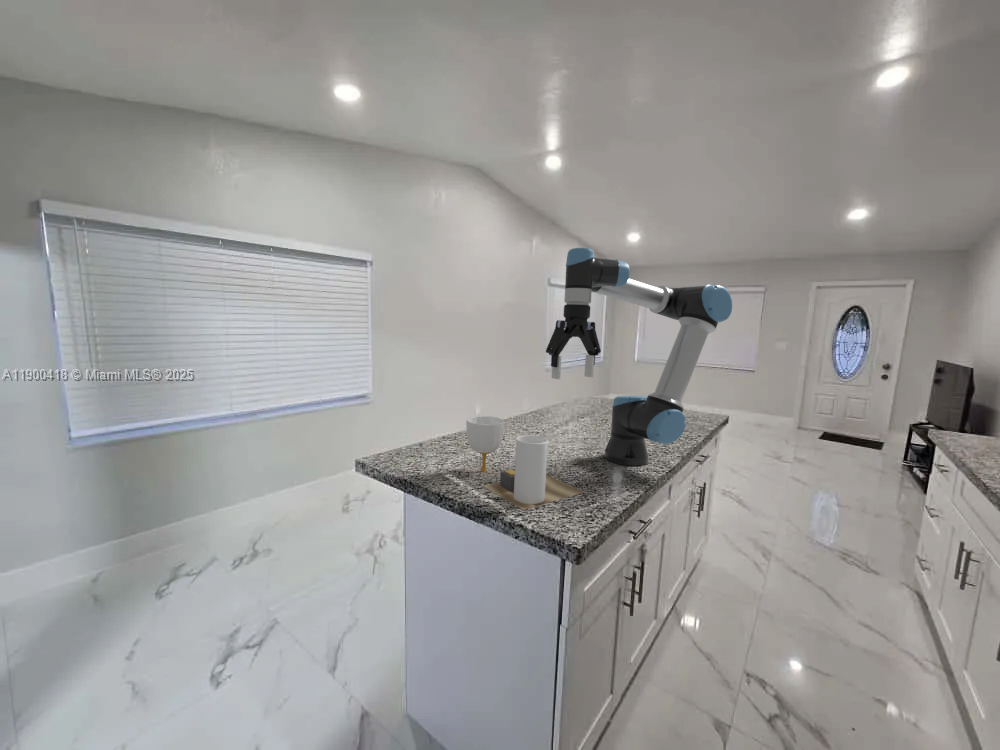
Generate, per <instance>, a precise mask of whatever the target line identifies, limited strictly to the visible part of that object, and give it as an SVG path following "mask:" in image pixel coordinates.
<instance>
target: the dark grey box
mask: <svg viewBox="0 0 1000 750" xmlns="http://www.w3.org/2000/svg"><path fill="white" fill-rule="evenodd" d="M514 480H515V468H512V469H506V470H502V471H500V481H499V482H500V485H501V486H502V487H504V488H506V489H508V490H509V491H514Z"/></svg>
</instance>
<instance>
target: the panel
mask: <svg viewBox="0 0 1000 750" xmlns="http://www.w3.org/2000/svg"><path fill="white" fill-rule="evenodd" d="M483 487H484V488H486V489H488V490H489V491H490V492H492V493H493V494H495V495H498V496H499V497H501V499H504V500H506V501H508V502H509V503H511V504H512V505H514V506H515V507H518V508H519V509H520V510H523V511H526V510H529V509H531V508H532V509H533V508H535V507H539V506H543V505H545V504H546V505H547V504H549V503H553V502H556V501H560V500H563V499H566V498H570V497H573V496H577V495H580V494H584V493H585V491H583V490H582V489H579V488H577V487H574V486H572V485H571V484H569V483H566V482H564V481H561V480H559V479H558V478H556V477H553V476H550V475H548V474H546V484H545V500H544V501H543V502H541V503H538V504H525V503H521V502H518V501H516V500H515V499H514V491H509V490H508V489H506V488H504V487H502V486H501V485H500V481H499V482H494V483H490V484H486V485H483Z"/></svg>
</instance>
